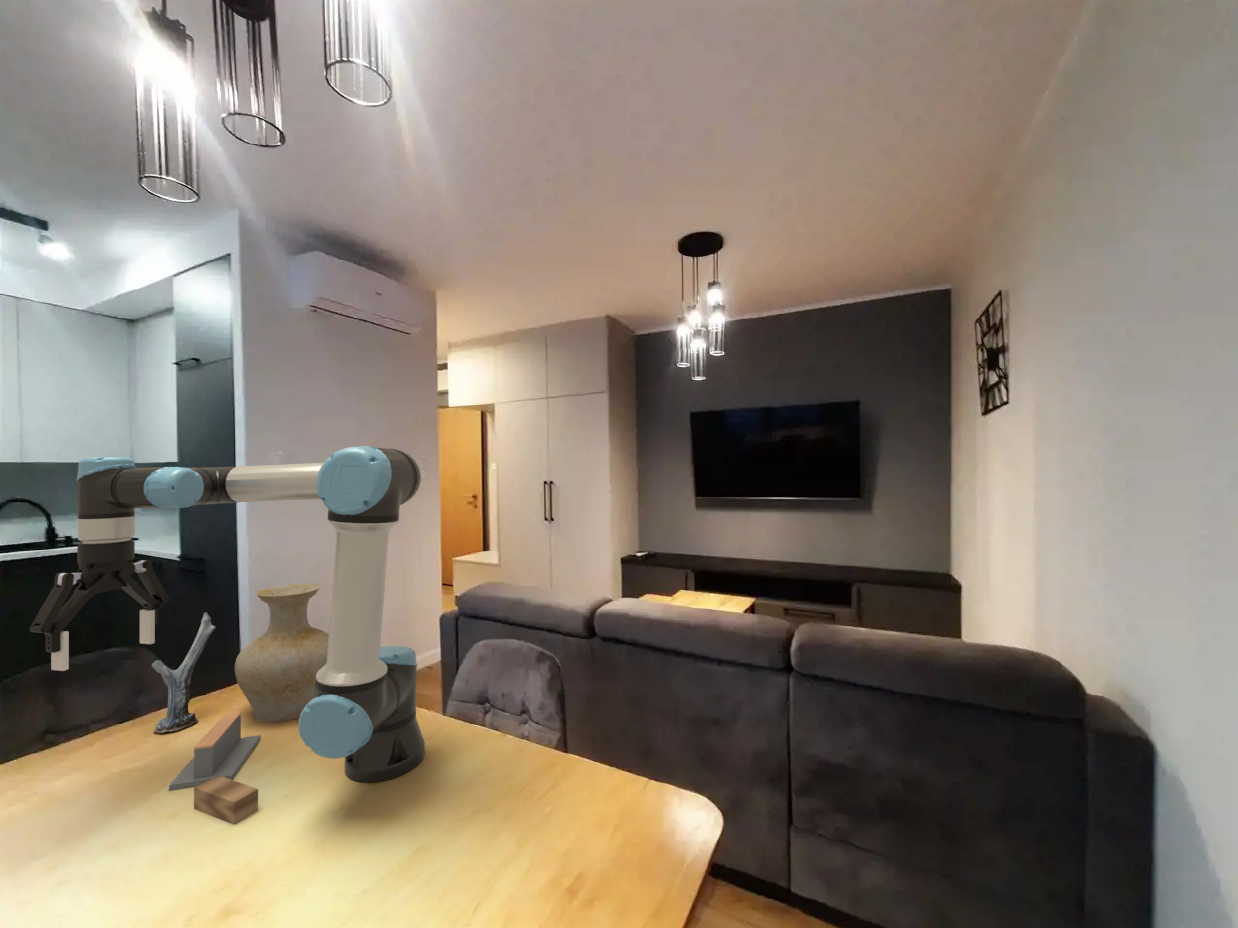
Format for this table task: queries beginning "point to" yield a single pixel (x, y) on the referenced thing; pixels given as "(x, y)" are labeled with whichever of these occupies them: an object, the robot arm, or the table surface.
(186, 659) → the antler
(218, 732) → the ridge block
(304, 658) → the vase
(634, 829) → the table surface
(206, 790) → the walnut bar
